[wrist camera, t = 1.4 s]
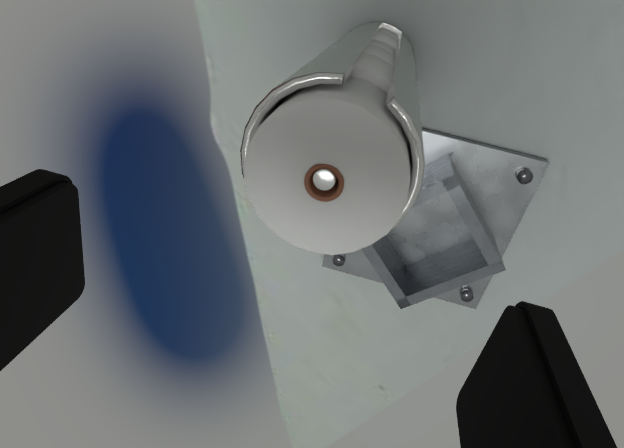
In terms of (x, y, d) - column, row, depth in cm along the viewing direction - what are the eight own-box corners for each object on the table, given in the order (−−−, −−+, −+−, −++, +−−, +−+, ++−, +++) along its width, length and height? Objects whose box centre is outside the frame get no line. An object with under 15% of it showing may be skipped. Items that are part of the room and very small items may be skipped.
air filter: (429, 74, 35) (465, 209, 14) (363, 119, 38) (305, 290, 17) (386, 3, 34) (349, 28, 12) (319, 55, 36) (190, 152, 15)
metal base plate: (361, 112, 38) (354, 132, 33) (546, 159, 37) (569, 186, 32) (323, 260, 46) (312, 295, 41) (474, 302, 45) (483, 343, 40)
